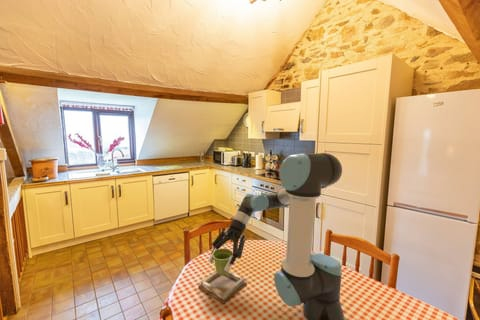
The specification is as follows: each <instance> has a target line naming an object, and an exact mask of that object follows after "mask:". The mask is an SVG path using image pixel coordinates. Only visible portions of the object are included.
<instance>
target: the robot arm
mask: <svg viewBox="0 0 480 320" xmlns="http://www.w3.org/2000/svg"><path fill="white" fill-rule="evenodd" d="M279 167H280V168H279V173H278V175H279V176H278V177H279V181H280V184H281V186H282V187H283V188H282V189H280V190H279V191H277V192H274V193H267V194H262V193H259V194H253V193H246V194H245V196H243V199H242V202H241V203H240V205H239V207H238V209H237V211H236V212H235V214H234V216H233V219H232V221H231V222H230V224H229V228H228V229H227V228H225V227H223V228H222V230H221V232H220V233H219V234H218V235H217V237H216V238H215V239H214V240H213V242H212V244H211V246H213V249H212V251H211V253H210V257H209V258H208V260H207V261H208V262H209V263H210V264H213V263H214V262H215V261H214V258H213V256H212V254H213V252H214V251H216V250H218V249H221V247H222V246H224V245H225V244H226V243H227V242H228V241H233V243H232V246H233V247H232V253H233V255H232V256H230V258H229V260H228V262H227V264H226V266H225V269H224V270H225V271H227V272H228V271H230V269H231V267H232V266H233V265H234V264H235V261H236V260H237V259H242V255H243V252H244V248H245V243H246V240H247V236H246V235H244V234H243V233H244V232H245V230H246V228H247V225H249V222H250V219H251V218H252V215H253V214H254V213H256V212H261V211H262V212H263V211H268V210H274V209H280V208H283V209H285V208H286V207H288V222H287V236H286V237H287V239H286V256H285V257H284V258H283V259H282V260H281V267H280V268H281V269H280V270H277V271H276V272H275V273H274V276H273V281H274V286H275V289H276V291H277V294H278V296H279V298H280V299H281V301H282V302H283V303H284V304H285V305H286V306H288V307H296V306H300V305H302V311H303V314H304V316H305V317H306V318H307V320H344V310H343V308H342V303H341V300H340V297H341V283H342V265H341V263H340V262H339V260H337V259H335V258H334V257H332V256H330V255H327V254H324V253H318V252H317V253H312V250H313V236H314V223H315V209H316V200H317V199H318V198H320V197H321V196H322V195H321V194H322V189H326V188H328V187H330V186H332V185H334V184H336V183H337V182H338V181H339V180H340V179H341V178H342V177H341V176H342V174H343V166H342V163H341V161H340V160H339V159H338V158H337V157H336V156H335V155H333V154H331V153H326V152H320V153H319V152H318V153H296V154H291V155H288V156H287V157H285V159H284V160H283V161H282V163H281V164H280V166H279Z"/></svg>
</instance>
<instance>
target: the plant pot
mask: <svg viewBox="0 0 480 320" xmlns="http://www.w3.org/2000/svg"><path fill="white" fill-rule="evenodd" d="M211 255H212V256H213V258H214V261H213V262H214V265H215V272H217V273H218V274H220V275H225V274H226V273H228V272H229V271H230V270H229V271H228V272H227V271H225V270H224V269H225V266H226V264H227V262H228V260H229V258H230V256H232V255H233V250H231V249H229V248H219V249H218V250H216V251H214V252H213V254H211Z"/></svg>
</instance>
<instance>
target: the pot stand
mask: <svg viewBox="0 0 480 320" xmlns="http://www.w3.org/2000/svg"><path fill="white" fill-rule="evenodd" d="M247 284H248V282H246V281H245V278H244V277H241V276H240V275H238V274H236V273H234V272H232V271H230V270H229V272H228V273H226V274H225V275H220V274H218V273H217V272H216V271H214V272H213V273H211V274H210V275H208V276H207V277H205V278H204V279H202V280H201V281H200V284H199V285H198V289H200V290H201V291H203V292H205V293H206V294H207V295H209V296H211V297H213V298H214V299H215V300H216V301H219V302H220V303H221V304H226V303H228V301H230V299H231V298H233V297H234V296H235V295H236V294H237V293H238V292H240V291H241V290H242V289H243V288H244V287H245V286H246V285H247Z"/></svg>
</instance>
